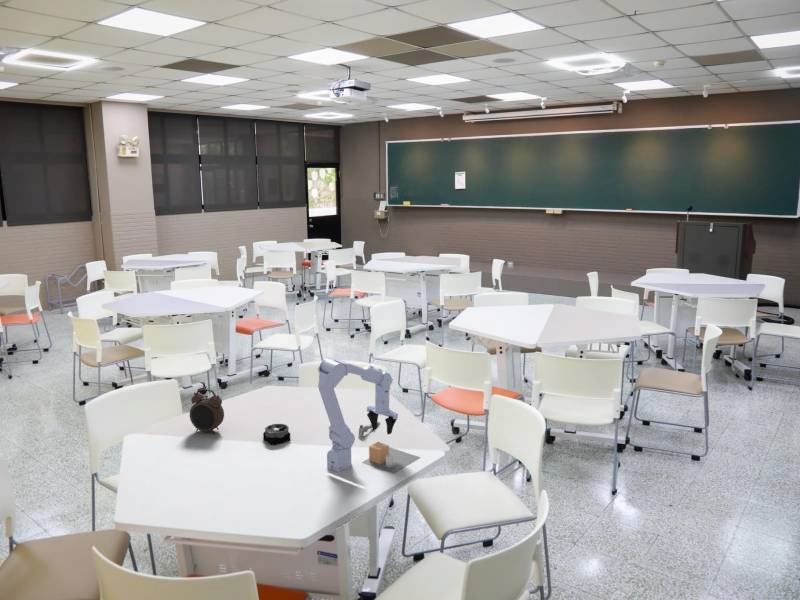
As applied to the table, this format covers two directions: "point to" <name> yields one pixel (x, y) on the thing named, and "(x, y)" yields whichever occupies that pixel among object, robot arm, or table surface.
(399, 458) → the duct panel
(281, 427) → the cpu cooler
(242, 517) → the table surface
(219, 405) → the alarm clock
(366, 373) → the robot arm
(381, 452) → the orange cube
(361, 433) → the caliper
